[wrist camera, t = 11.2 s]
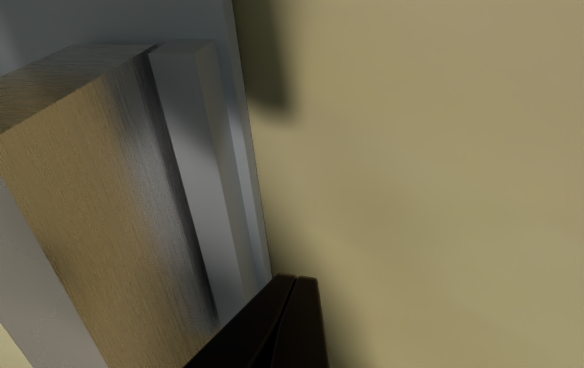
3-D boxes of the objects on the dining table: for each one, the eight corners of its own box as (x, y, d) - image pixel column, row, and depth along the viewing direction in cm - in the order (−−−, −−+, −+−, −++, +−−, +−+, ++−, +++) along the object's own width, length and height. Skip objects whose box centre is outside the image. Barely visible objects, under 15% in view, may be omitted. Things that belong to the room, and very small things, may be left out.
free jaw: (226, 318, 14) (161, 463, 10) (159, 307, 14) (76, 441, 11) (156, 43, 9) (-18, 144, 5) (58, 44, 9) (-158, 135, 6)
